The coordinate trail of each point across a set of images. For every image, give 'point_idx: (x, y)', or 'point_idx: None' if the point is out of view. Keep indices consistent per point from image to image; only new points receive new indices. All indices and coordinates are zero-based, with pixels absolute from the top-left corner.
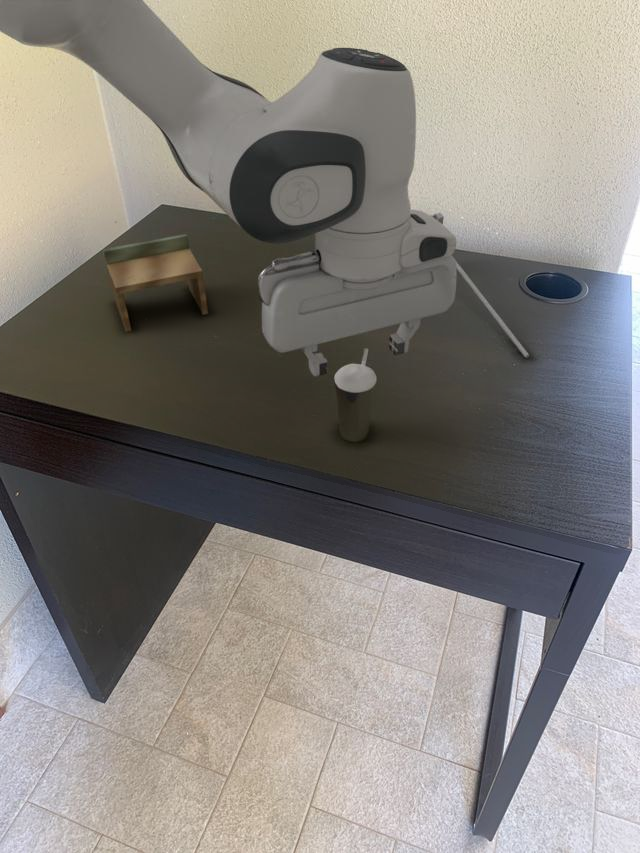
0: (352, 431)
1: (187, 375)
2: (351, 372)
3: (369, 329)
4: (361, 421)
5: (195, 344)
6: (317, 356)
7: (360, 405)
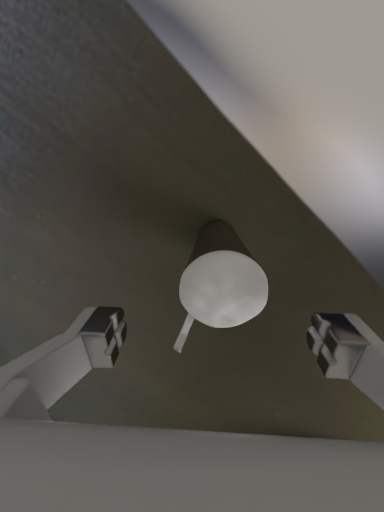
0: (229, 228)
1: (336, 384)
2: (235, 303)
3: (215, 448)
4: (218, 230)
5: (301, 413)
6: (348, 369)
7: (226, 239)
